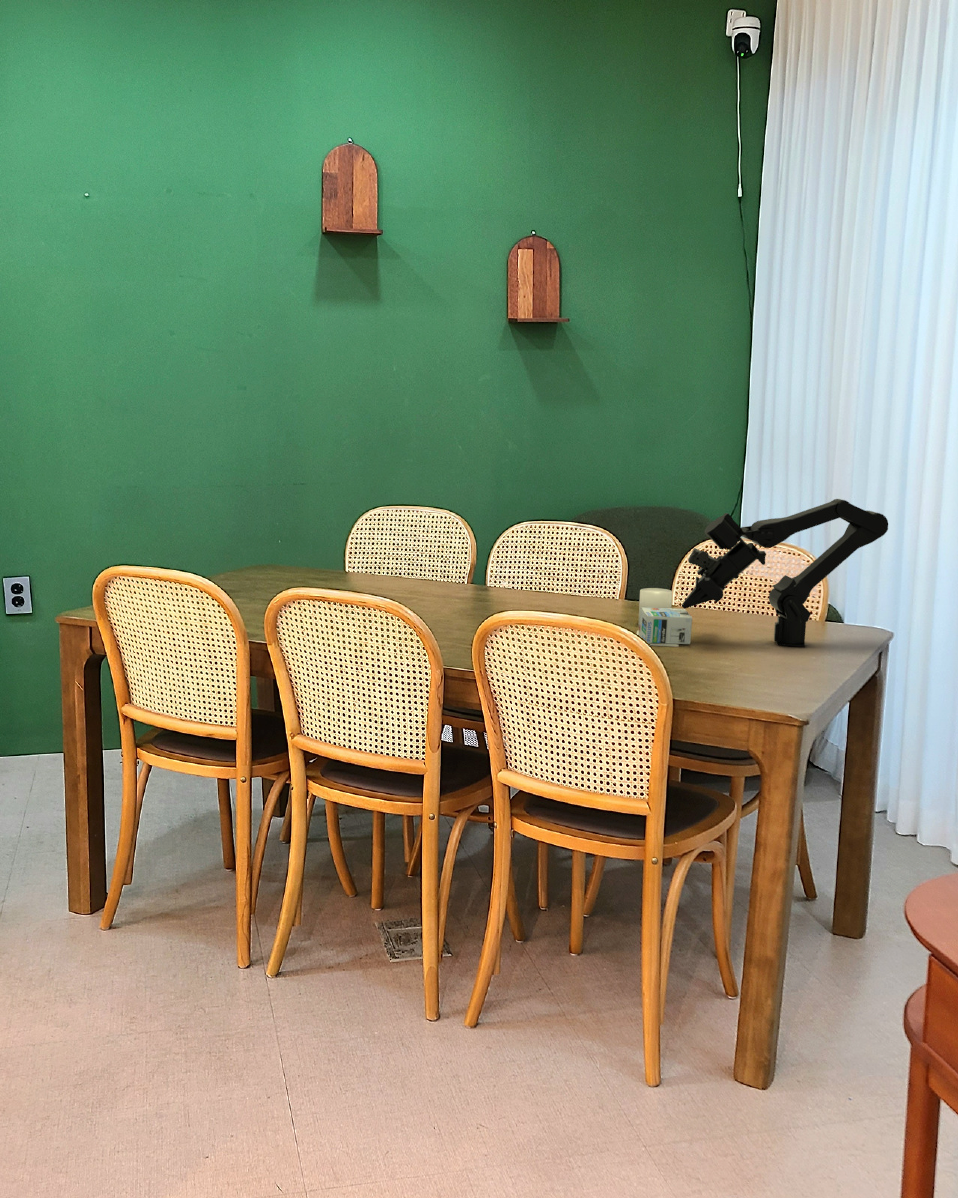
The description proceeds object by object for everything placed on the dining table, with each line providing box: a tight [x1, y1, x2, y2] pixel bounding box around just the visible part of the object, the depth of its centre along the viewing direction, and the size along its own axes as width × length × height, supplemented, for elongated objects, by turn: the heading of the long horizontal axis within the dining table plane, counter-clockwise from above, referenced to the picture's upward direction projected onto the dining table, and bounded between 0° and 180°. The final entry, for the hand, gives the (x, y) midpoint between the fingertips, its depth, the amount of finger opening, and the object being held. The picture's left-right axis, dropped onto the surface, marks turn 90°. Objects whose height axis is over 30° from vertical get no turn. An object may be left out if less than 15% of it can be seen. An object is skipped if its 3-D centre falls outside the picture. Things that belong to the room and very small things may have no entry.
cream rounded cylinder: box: [638, 587, 673, 626], centre depth 277 cm, size 8×8×9 cm
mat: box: [636, 630, 680, 648], centre depth 262 cm, size 10×14×1 cm
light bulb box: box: [638, 607, 693, 645], centre depth 259 cm, size 11×7×11 cm
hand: (682, 607), depth 259 cm, fingers closed
